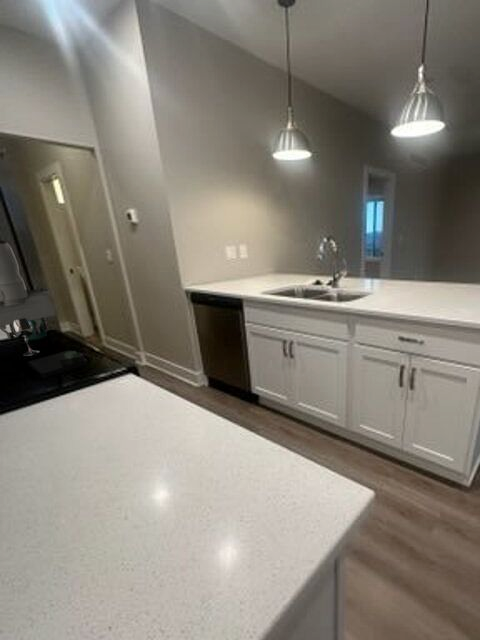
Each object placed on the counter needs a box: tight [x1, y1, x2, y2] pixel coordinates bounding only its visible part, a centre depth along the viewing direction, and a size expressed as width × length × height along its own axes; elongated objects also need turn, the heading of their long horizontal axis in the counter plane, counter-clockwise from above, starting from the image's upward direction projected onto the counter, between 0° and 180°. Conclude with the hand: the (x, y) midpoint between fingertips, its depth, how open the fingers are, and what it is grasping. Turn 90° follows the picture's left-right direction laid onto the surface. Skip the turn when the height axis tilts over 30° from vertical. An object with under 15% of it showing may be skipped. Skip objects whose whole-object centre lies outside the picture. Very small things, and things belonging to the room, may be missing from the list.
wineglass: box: [9, 318, 40, 357], centre depth 111 cm, size 6×6×12 cm
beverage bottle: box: [26, 288, 48, 341], centre depth 130 cm, size 6×7×20 cm
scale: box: [27, 350, 89, 379], centre depth 108 cm, size 12×16×3 cm
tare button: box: [64, 350, 78, 359], centre depth 106 cm, size 3×3×2 cm
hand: (24, 335), depth 111 cm, fingers closed on wineglass, 5 cm apart
